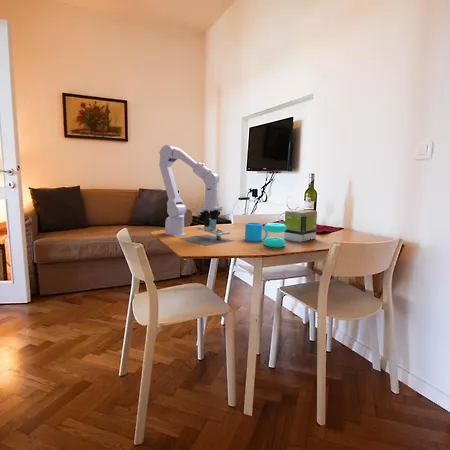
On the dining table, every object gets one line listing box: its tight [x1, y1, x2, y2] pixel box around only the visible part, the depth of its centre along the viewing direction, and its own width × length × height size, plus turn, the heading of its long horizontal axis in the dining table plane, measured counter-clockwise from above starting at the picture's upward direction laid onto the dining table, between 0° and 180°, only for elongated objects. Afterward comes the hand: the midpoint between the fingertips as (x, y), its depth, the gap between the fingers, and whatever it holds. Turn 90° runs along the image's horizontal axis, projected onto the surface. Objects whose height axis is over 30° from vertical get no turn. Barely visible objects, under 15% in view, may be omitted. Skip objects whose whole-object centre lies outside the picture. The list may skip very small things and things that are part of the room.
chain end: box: [195, 217, 230, 236], centre depth 164 cm, size 18×7×6 cm, turn 46°
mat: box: [178, 234, 235, 247], centre depth 161 cm, size 19×19×1 cm
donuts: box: [263, 222, 287, 248], centre depth 155 cm, size 10×10×10 cm
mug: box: [244, 222, 269, 242], centre depth 165 cm, size 12×8×8 cm
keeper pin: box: [216, 228, 222, 240], centre depth 161 cm, size 2×2×5 cm
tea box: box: [283, 208, 318, 243], centre depth 174 cm, size 15×10×15 cm, turn 134°
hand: (209, 226), depth 165 cm, fingers closed on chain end, 4 cm apart
